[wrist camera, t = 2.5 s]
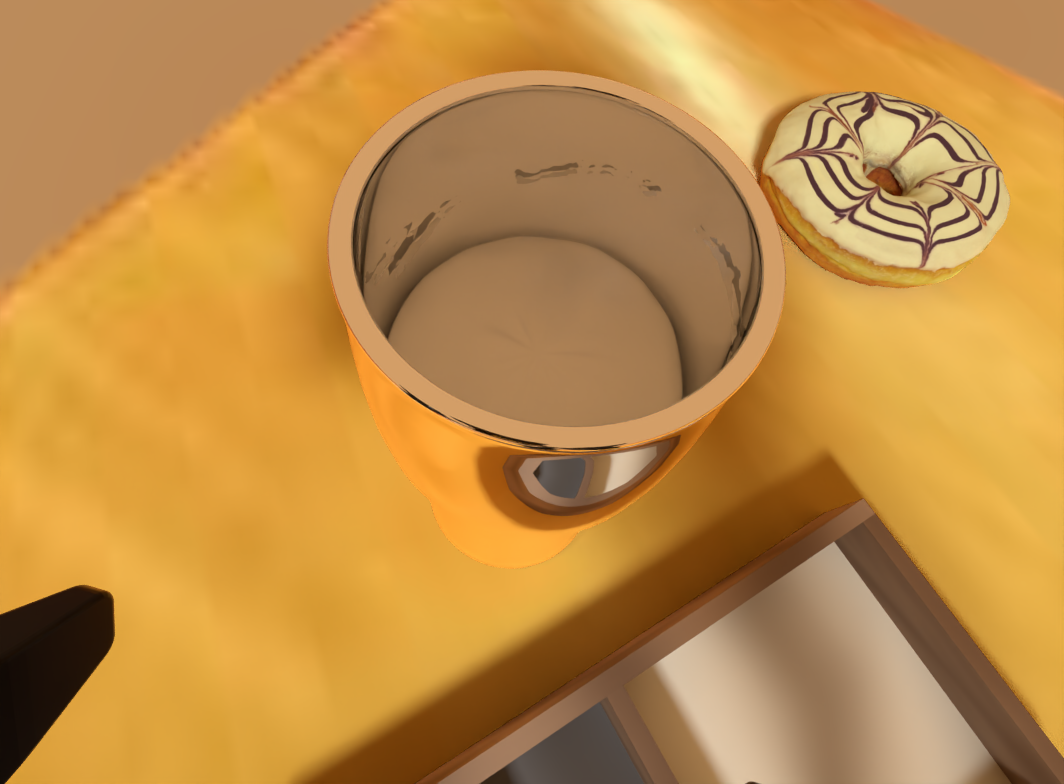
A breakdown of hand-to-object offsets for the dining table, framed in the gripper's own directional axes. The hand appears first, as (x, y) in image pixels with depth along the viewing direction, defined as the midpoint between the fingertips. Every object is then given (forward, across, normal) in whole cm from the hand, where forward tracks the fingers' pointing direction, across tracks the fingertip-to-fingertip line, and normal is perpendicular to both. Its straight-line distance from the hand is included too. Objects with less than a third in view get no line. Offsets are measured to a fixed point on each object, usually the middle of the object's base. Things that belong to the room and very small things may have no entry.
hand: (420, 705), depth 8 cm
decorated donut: (+27, -13, -8) cm, 31 cm away
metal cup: (+14, 0, +4) cm, 14 cm away
